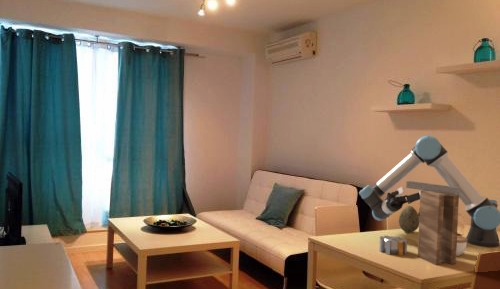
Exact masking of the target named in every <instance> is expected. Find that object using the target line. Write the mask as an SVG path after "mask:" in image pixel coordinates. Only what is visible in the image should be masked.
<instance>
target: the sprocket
mask: <svg viewBox="0 0 500 289" xmlns="http://www.w3.org/2000/svg"><path fill="white" fill-rule="evenodd" d="M379 252H381V253H385V255H395V256H403V255H404V256H405V255H407V254H408V253H407V252H408V240H407V238H402V237H401V236H397V235H395V236H394V235H393V236H392V235H390V236H389V235H384V236H380V237H379Z"/></svg>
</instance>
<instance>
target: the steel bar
mask: <svg viewBox="0 0 500 289" xmlns="http://www.w3.org/2000/svg"><path fill="white" fill-rule="evenodd" d="M405 188H406V189H413V190H418V191H420V190H425V191H432V192H439V193H445V194H452V195H459V192H460V187H452V186H449V185H444V184H436V183H427V182H419V181H415V180H414V181H412V180H410V181H409V180H408V181H406V186H405Z"/></svg>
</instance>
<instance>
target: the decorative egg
mask: <svg viewBox="0 0 500 289" xmlns="http://www.w3.org/2000/svg"><path fill="white" fill-rule="evenodd" d="M418 213H419V212H418V211H417V210H416V209H415V208H414V207H413V205H408V206H406V207H404V208H403V209H402V210H401V212H400V213H399V214H400V215H399V217H398V224H399V227H400V229H401V230H402V231H403V232H405V233H409V234H410V233H413V232H416V230H417V229H419V216H418Z"/></svg>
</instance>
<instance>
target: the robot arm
mask: <svg viewBox="0 0 500 289" xmlns="http://www.w3.org/2000/svg"><path fill="white" fill-rule="evenodd" d="M424 163H425V164H426V165H427V166H428V167H432V168H433V169H434V170H435V171H436V172H437V174H438V175H439V176H440V177H441V178H442V179H443V181H444V183H446V184H447V186H452V187H460V192H459V201H461V202H462V203H463V205H465V206H464V207H465V208H464V211H465V212H466V213H467V214H468V216H470V226H469V229H468V231H467V235H466V236H465V238H467V244H470V245H474V246H478V247H485V248H498V247H500V239H499V234H498V232H497V231H498V230H497V228H498V227H499V226H500V210H499V208H498V207H499V206H498V200H496V199H489V198H488V197H487V196H486V195H481V194H480V193H479V191H478V190H477V189H476V188H475V187H474V186H473V184H472V183H471V182H470V181H469V180H468V178H467V177H466V176H465V175H464V174H463V172H462V171H461V170H460V168H458V166H456V165H455V163H454V162H453V161H452V160H451V159H450V157H449V152H448V150H447V149H446V148H445V147H444V146H443V145H442V144H441V142H440V141H439V139H437V138H436V137H435V136H434V135H433V136H432V135H423V136H421V137H420V138H418V139H417V141H416V143H415V146H414V147H413V148H411V149H410V152H409V153H408V154H407V155H406V156H405V157H404V158H403V159H402V160H401V161H399V163H397V164H396V165H395V166H394V167H393V168H391V169H390V170H389V171H388V172H387V173H386V174H385V175H384V176H383V177H381V178H380V179H378V180H377V181H376V183H374V184H373V185H372V186H371V185H370V184H367V185H366V186H364V187H363V188H362V189H360V190H359V192H358V194H359V196H360V197H361V199H362V200H363V201H364V202H365V203H366V204H367V205H368V206H369V208H370V209H371V215H372V217H373V218H374V220H375V221H378V222H379V221H383V220H387V218H389V217H391V216H393V214H394V213H396V212H398V211H400V210H401V209H402V208H403V205H405V204H409V205H410V204H411V203H414V202H416V201H417V202H418V201H420V191H421V190H418V192H416V193H413V194H409V195H408V194H405V195H403V193H405V188H404V186H400V187H399V188H397V189H396V190H395V191H392V192H388V191H390V190H391V189H392V188H393V187H394V186H395V185H397V183H399V182H401V181H402V179H404V178H405V177H406V176H407V175H408V174H409V173H411V172H412V171H413V170H414V169H416V167H418V166H419V165H420V164H424ZM386 193H387V194H386ZM385 194H386V198H385V200H383V199H382V198H381V197H383V196H384V195H385Z"/></svg>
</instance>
